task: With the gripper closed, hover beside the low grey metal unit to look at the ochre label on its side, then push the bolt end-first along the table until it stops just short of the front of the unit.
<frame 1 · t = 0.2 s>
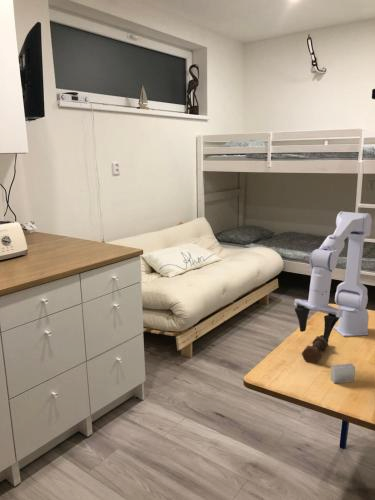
hand: (314, 334, 122), 10 cm above the table, tool pointing down, fingers open, 7 cm apart
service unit: (342, 380, 116), on the table
bolt: (317, 354, 132), on the table
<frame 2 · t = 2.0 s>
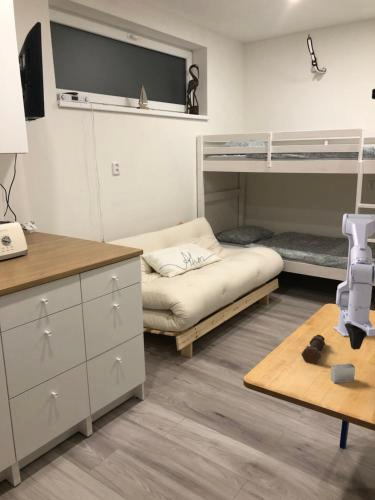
hand: (355, 348, 119), 7 cm above the table, tool pointing down, fingers closed
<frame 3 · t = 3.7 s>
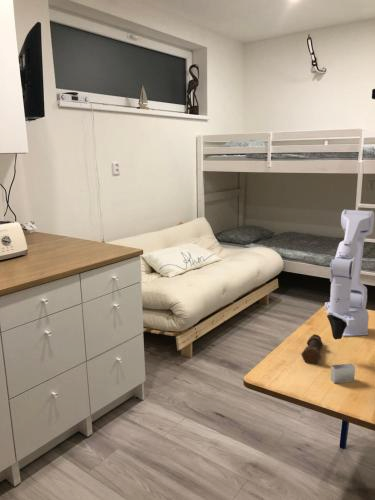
hand: (337, 338, 127), 7 cm above the table, tool pointing down, fingers closed
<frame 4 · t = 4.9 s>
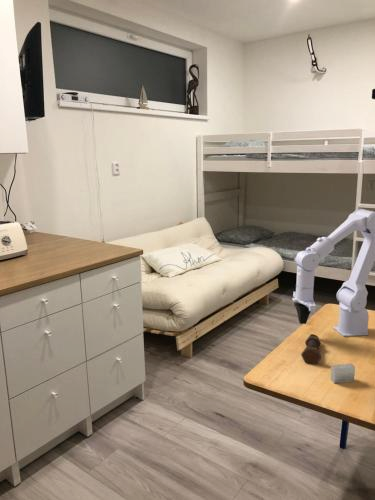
hand: (302, 323, 143), 5 cm above the table, tool pointing down, fingers closed
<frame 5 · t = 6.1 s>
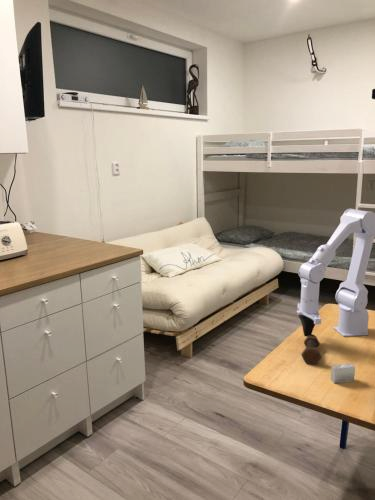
hand: (307, 335, 139), 2 cm above the table, tool pointing down, fingers closed
bolt: (311, 354, 132), on the table, touching gripper
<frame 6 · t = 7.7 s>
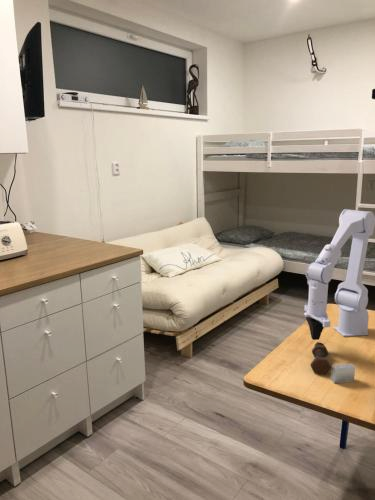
hand: (315, 338, 134), 4 cm above the table, tool pointing down, fingers closed
bolt: (320, 363, 126), on the table
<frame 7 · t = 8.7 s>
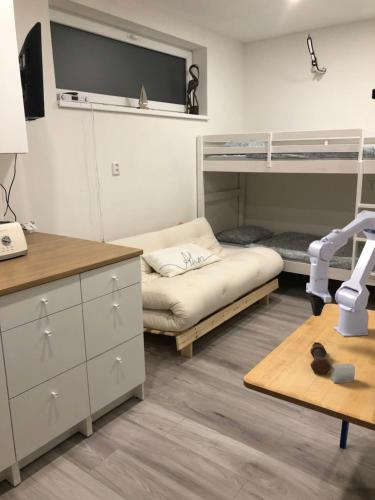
hand: (316, 315, 138), 9 cm above the table, tool pointing down, fingers closed
nothing on the table moved.
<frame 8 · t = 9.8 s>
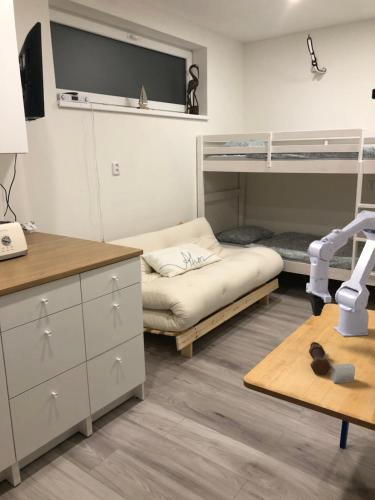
hand: (316, 315, 138), 9 cm above the table, tool pointing down, fingers closed
nothing on the table moved.
at the end: bolt 2.4 cm from the target spot, on the table; bolt moved 6.2 cm from its start; the gripper is holding nothing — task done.
